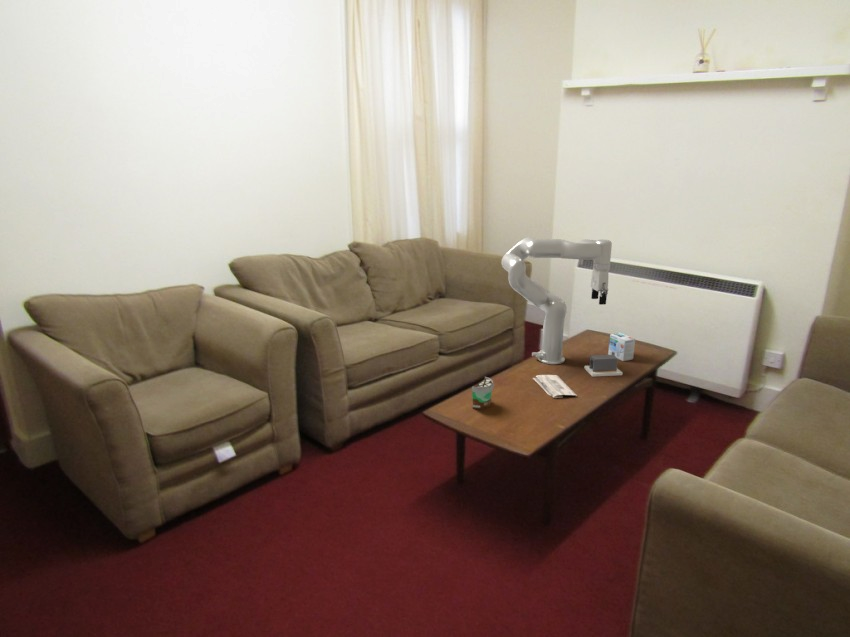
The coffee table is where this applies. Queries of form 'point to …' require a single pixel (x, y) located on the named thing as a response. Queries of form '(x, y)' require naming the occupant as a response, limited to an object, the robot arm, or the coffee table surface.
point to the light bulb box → (621, 346)
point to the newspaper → (553, 386)
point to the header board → (602, 372)
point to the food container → (482, 394)
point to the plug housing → (603, 363)
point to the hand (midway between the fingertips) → (598, 301)
